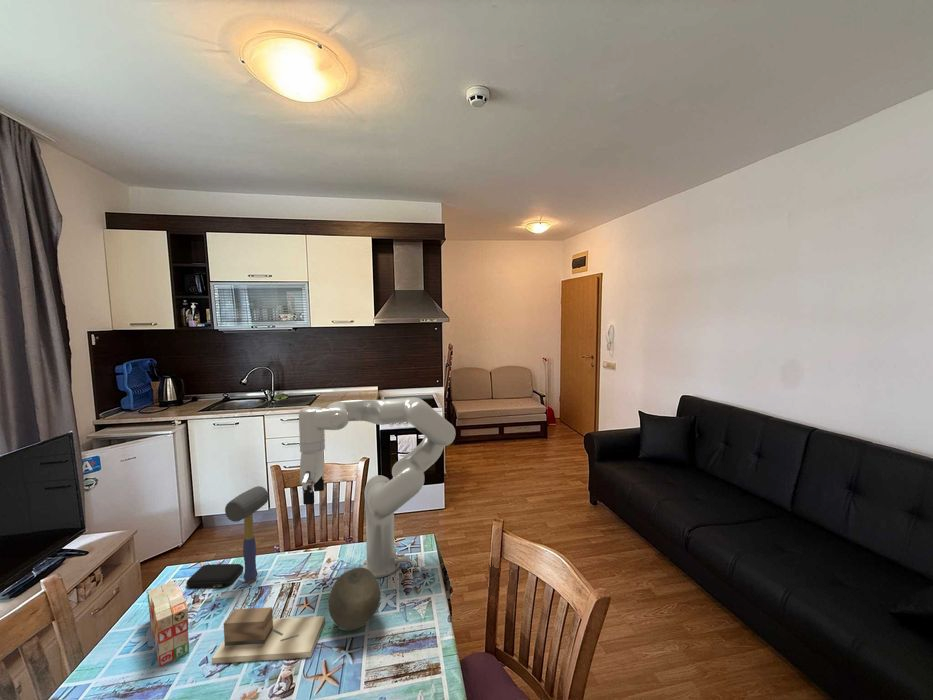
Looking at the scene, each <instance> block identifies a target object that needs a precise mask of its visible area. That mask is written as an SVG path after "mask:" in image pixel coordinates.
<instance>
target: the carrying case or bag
mask: <svg viewBox="0 0 933 700" xmlns="http://www.w3.org/2000/svg"><path fill="white" fill-rule="evenodd" d="M243 571H244V566H243V564H239V563H217V564H216V563H214V564H213V563H211V564H204V565H202V566H201V567H200V568H199V569H197V570H196V571H195V572H194V573H193V574H192V575H191V576H190V577H189V578H188V579H187V581H186V583H185V584H186V586H187V587H189V588H212V589H217V588H220V587H228V586H230V585H231V584H232V583H233V582H234V581H235V580H237V578H238V576H239V575H241V573H242V572H243Z"/></svg>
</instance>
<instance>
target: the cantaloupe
mask: <svg viewBox="0 0 933 700" xmlns="http://www.w3.org/2000/svg"><path fill="white" fill-rule="evenodd" d="M381 593H382V591H381V587H380V583H379V581H378V578H375V576H374V575H373V574H372V572H371V571H369V570H368V569H366V568H362V566H361V567H354V568H351V569H349V570H347V571H345V572H343V573H342V574H340V576H338V577H337V578H336V580H335V581H334V583H333V585H332V586H331V589H330V592H329V596H328V603H327V604H328V612H329V616H330V618H331V620H332V622H333V623H334V625H336V626H337V628H339V629H340V630H344V631H355V630H358V629H360V628H362V627H364V626H365V625H366V624H367V623H368V622H369V621H370V620H371V619H372V618H373V617H374V615H375V614H376V612H377V610H378V609H379V606H380V602H381V597H382V596H381V595H382V594H381Z"/></svg>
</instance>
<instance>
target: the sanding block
mask: <svg viewBox="0 0 933 700" xmlns="http://www.w3.org/2000/svg"><path fill="white" fill-rule="evenodd" d="M273 617H274V616H273V607H270V606H269V607H256V608H255V607H253V608H234V609H233V610H232V611H231V613H230V614H229V615H228V617H227V619H226V620H225V621H224V622H223V635H224V636H223V638H224V639H223V641H224V643H225V646H229V645H247V644H265V642H266V640H267V638H268V637H269V635H270V633H271V631H272V629H273V619H274V618H273Z"/></svg>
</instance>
